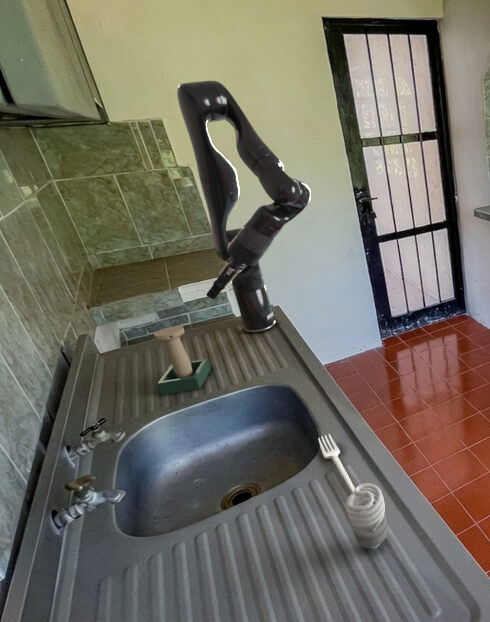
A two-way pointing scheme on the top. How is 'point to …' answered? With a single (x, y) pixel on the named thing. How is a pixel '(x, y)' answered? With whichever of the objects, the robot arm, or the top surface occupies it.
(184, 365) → the handle
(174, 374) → the socket
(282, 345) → the top surface
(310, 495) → the top surface
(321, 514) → the top surface
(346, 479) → the fork
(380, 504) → the light bulb
